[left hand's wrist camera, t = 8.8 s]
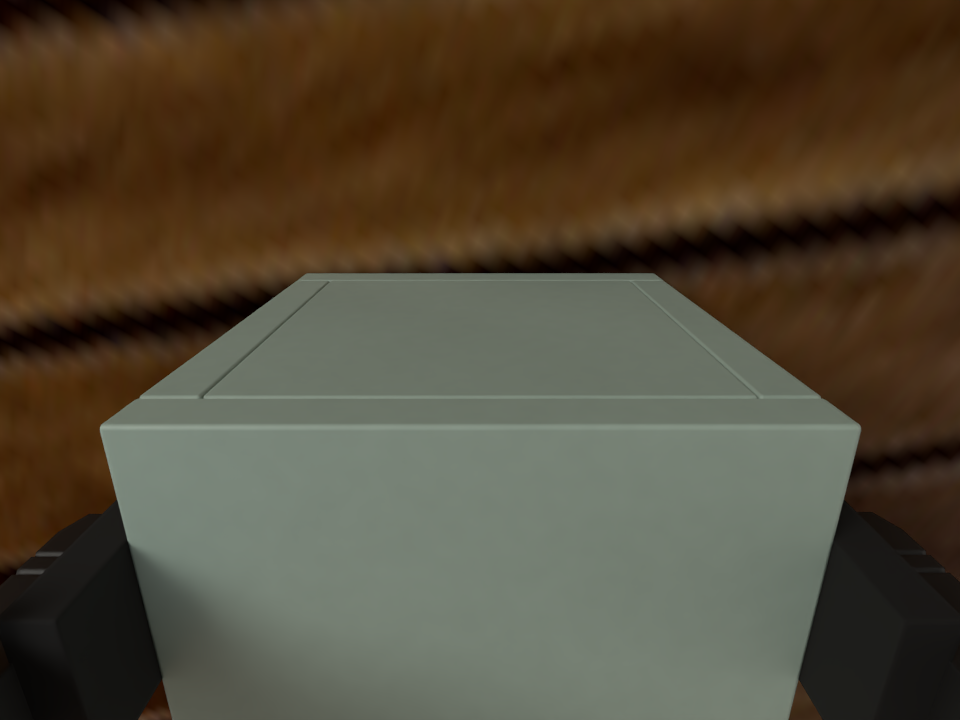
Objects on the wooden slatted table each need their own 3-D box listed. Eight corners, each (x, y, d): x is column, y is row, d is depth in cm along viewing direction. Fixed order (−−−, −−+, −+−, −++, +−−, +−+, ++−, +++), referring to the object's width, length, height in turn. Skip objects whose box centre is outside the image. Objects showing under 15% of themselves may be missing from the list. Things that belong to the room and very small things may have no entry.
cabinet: (610, 697, 23) (700, 1077, 14) (350, 697, 23) (260, 1077, 14) (654, 273, 17) (865, 425, 8) (305, 273, 17) (95, 425, 8)
